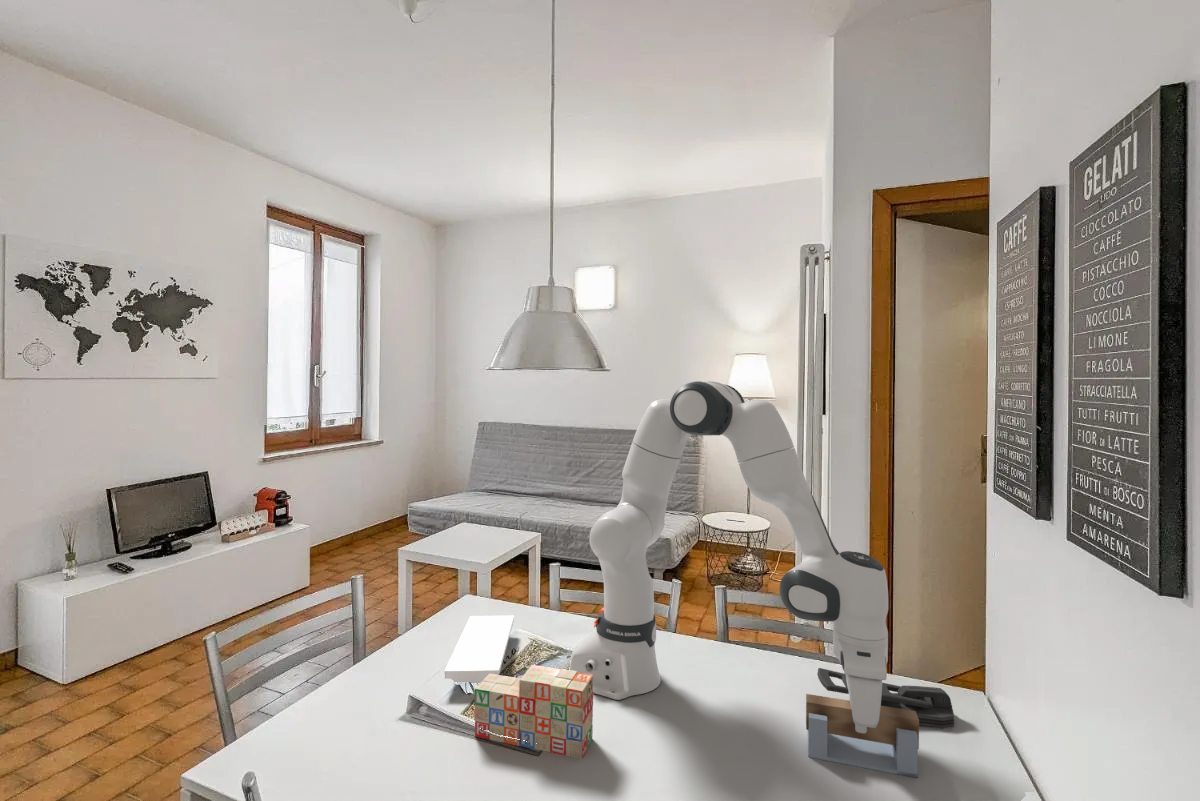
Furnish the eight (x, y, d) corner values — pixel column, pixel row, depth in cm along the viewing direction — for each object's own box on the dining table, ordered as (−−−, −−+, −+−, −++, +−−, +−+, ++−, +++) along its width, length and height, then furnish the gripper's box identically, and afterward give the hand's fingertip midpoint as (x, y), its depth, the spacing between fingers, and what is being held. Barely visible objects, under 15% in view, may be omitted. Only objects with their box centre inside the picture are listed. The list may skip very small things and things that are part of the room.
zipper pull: (813, 665, 122) (940, 673, 118) (813, 696, 122) (940, 705, 118) (824, 686, 113) (961, 696, 109) (824, 720, 113) (961, 730, 109)
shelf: (444, 695, 122) (444, 671, 122) (470, 635, 152) (470, 616, 152) (498, 694, 122) (498, 670, 122) (514, 635, 152) (514, 615, 152)
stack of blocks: (473, 738, 107) (473, 672, 107) (489, 719, 113) (489, 657, 113) (582, 759, 101) (582, 690, 100) (593, 739, 107) (593, 673, 106)
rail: (806, 729, 104) (806, 702, 104) (806, 720, 107) (806, 693, 106) (918, 749, 98) (918, 720, 98) (915, 739, 101) (915, 711, 101)
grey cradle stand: (808, 757, 101) (809, 717, 101) (807, 731, 109) (808, 694, 109) (917, 778, 96) (917, 736, 96) (908, 749, 103) (909, 711, 103)
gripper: (836, 621, 113) (836, 691, 113) (845, 669, 94) (844, 753, 94) (872, 626, 111) (871, 697, 111) (888, 675, 92) (887, 761, 92)
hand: (859, 723), depth 102 cm, fingers closed on rail, 3 cm apart
